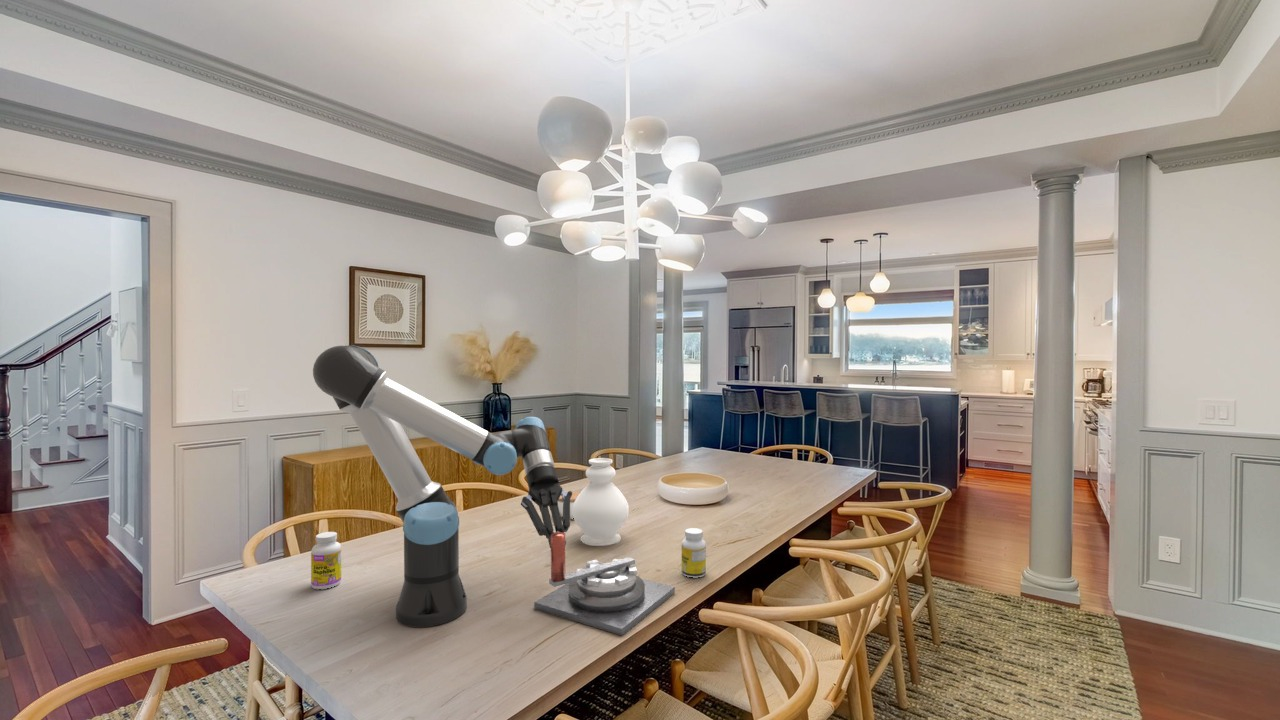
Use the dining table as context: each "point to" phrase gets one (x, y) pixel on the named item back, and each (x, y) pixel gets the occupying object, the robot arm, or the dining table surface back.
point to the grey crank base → (606, 605)
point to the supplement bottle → (326, 561)
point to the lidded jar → (572, 500)
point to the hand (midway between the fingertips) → (561, 560)
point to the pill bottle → (693, 553)
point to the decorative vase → (600, 505)
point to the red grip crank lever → (592, 572)
